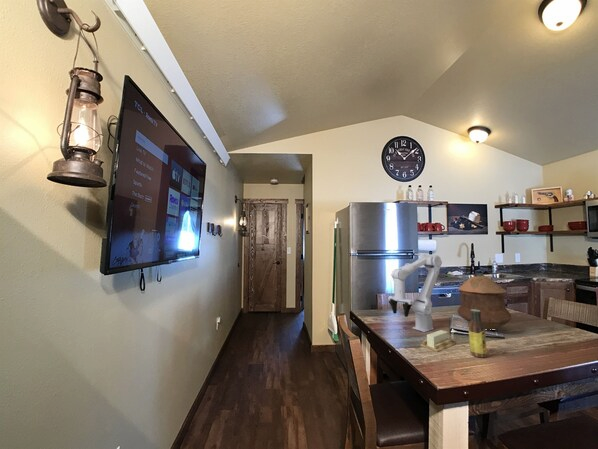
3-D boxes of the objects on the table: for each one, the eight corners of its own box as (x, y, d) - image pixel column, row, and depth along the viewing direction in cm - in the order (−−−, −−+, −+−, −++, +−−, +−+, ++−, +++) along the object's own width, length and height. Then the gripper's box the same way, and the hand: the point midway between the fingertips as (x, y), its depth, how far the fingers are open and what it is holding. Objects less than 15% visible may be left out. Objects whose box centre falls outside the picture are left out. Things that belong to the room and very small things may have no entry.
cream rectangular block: (441, 339, 132) (440, 329, 133) (448, 342, 129) (447, 331, 130) (427, 345, 126) (426, 334, 126) (434, 347, 123) (433, 336, 123)
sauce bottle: (487, 359, 112) (484, 313, 113) (470, 356, 115) (467, 311, 116) (486, 353, 117) (483, 309, 119) (469, 350, 121) (467, 307, 122)
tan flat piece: (438, 339, 135) (438, 334, 135) (454, 344, 128) (454, 339, 128) (420, 345, 128) (420, 340, 128) (437, 351, 120) (437, 346, 120)
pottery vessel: (521, 339, 133) (518, 280, 135) (464, 334, 142) (461, 279, 144) (502, 323, 157) (498, 274, 159) (454, 320, 166) (451, 273, 168)
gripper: (384, 289, 151) (385, 312, 150) (406, 293, 139) (407, 319, 138) (392, 288, 155) (393, 311, 154) (414, 292, 142) (415, 317, 141)
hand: (400, 314), depth 146 cm, fingers open, 7 cm apart
